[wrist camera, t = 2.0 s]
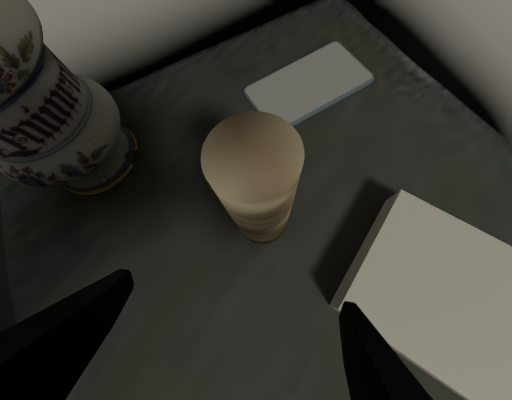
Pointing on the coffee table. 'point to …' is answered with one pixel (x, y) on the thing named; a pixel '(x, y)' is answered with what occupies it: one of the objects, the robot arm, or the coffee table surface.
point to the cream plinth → (437, 295)
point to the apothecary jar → (54, 115)
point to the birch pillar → (254, 171)
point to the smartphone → (309, 84)
